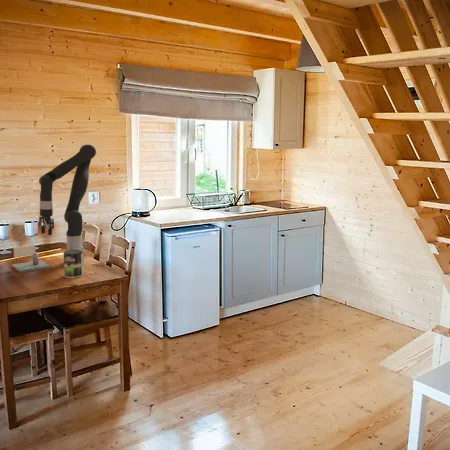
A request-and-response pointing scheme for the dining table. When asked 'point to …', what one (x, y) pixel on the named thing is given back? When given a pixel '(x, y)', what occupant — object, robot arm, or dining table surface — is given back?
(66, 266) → the coffee can
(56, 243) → the dining table surface
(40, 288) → the dining table surface
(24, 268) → the board
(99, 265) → the dining table surface
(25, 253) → the lever handle
